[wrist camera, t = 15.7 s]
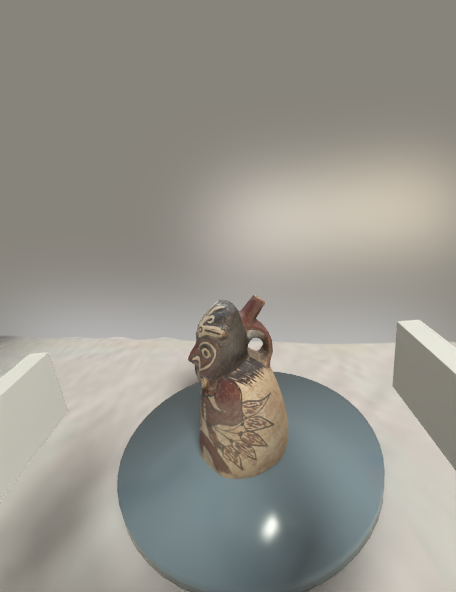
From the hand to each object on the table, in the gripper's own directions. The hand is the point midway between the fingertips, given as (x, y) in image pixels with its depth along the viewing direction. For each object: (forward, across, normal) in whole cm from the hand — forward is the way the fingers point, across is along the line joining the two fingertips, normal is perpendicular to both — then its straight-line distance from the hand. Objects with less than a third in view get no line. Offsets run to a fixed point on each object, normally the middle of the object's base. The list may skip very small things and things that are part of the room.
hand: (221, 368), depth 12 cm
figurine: (+10, 0, -13) cm, 16 cm away
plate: (+10, 0, -14) cm, 17 cm away
